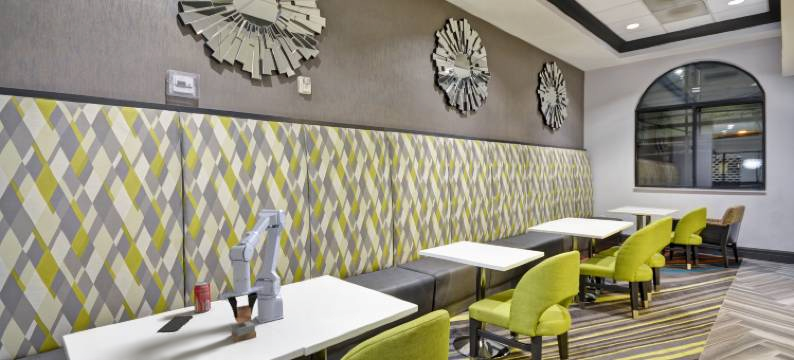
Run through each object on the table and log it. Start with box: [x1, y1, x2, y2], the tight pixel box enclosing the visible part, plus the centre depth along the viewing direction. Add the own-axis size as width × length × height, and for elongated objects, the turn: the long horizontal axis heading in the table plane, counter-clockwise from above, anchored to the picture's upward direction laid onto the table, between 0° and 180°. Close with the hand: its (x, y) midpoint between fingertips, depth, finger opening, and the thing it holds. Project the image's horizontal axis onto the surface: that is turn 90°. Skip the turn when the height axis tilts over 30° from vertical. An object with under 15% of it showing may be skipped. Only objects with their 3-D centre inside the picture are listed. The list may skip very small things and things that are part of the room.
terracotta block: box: [234, 304, 252, 324], centre depth 143 cm, size 4×4×4 cm
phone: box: [157, 315, 194, 333], centre depth 156 cm, size 7×1×15 cm
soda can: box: [193, 281, 212, 314], centre depth 170 cm, size 6×6×12 cm
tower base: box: [230, 329, 257, 343], centre depth 143 cm, size 7×7×2 cm
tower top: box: [231, 321, 256, 336], centre depth 143 cm, size 6×6×2 cm
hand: (242, 315), depth 143 cm, fingers closed on terracotta block, 4 cm apart
